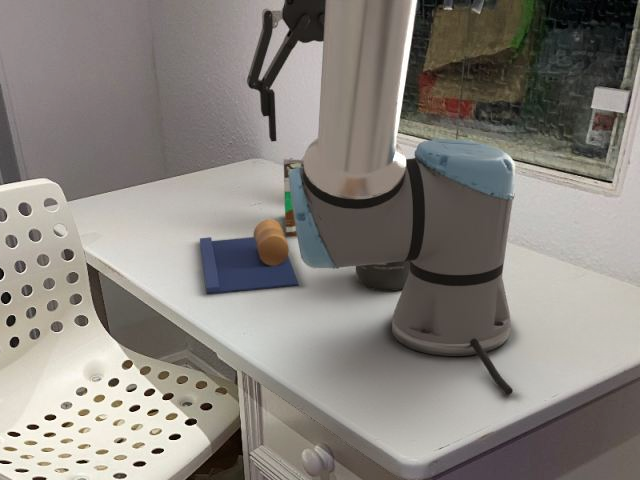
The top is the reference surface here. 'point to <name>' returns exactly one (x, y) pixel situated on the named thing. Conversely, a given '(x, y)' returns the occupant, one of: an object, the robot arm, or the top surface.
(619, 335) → the top surface
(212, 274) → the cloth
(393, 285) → the jar
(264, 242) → the roller
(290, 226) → the food container
